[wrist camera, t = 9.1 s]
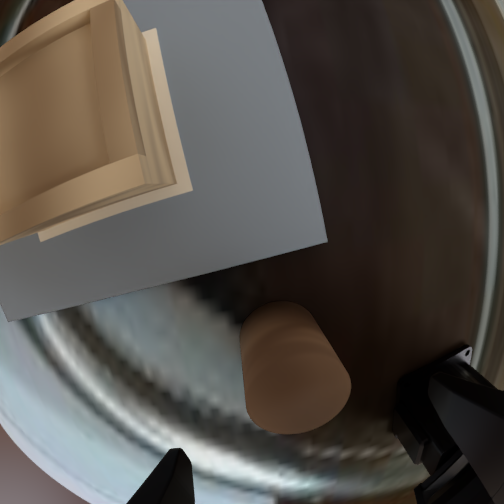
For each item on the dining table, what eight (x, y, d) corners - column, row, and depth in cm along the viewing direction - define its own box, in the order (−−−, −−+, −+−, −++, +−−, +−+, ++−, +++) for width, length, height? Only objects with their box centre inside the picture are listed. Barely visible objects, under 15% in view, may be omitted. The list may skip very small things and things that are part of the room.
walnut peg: (310, 291, 14) (346, 341, 9) (321, 356, 15) (352, 416, 10) (230, 312, 14) (232, 373, 9) (250, 375, 15) (259, 443, 10)
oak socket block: (146, 40, 10) (112, -17, 5) (177, 183, 12) (144, 184, 7) (22, 99, 10) (-39, 80, 5) (44, 230, 11) (-22, 253, 7)
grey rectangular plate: (245, -28, 10) (246, -39, 9) (320, 237, 14) (328, 242, 13) (-26, 91, 10) (-36, 88, 9) (16, 315, 13) (7, 322, 12)
